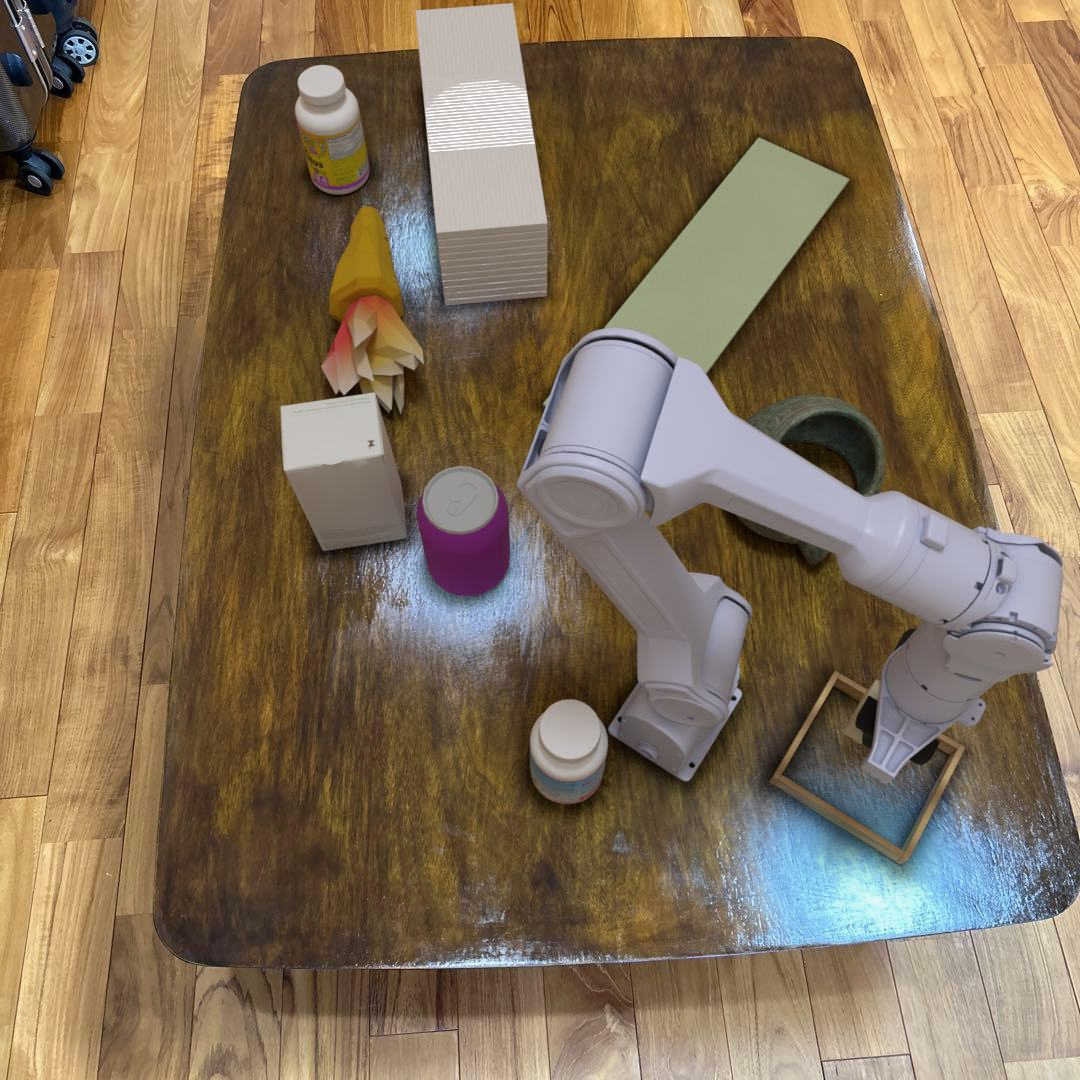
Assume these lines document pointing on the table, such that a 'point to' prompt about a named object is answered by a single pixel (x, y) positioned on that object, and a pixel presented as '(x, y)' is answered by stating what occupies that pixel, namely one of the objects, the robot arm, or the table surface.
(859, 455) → the dark green rounded piece
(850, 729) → the block
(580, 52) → the table surface
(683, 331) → the runner
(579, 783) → the pill bottle
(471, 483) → the beverage can
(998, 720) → the table surface
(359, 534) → the cosmetic box
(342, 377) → the torch
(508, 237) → the stack of papers
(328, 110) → the supplement bottle
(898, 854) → the wooden frame
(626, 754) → the table surface
